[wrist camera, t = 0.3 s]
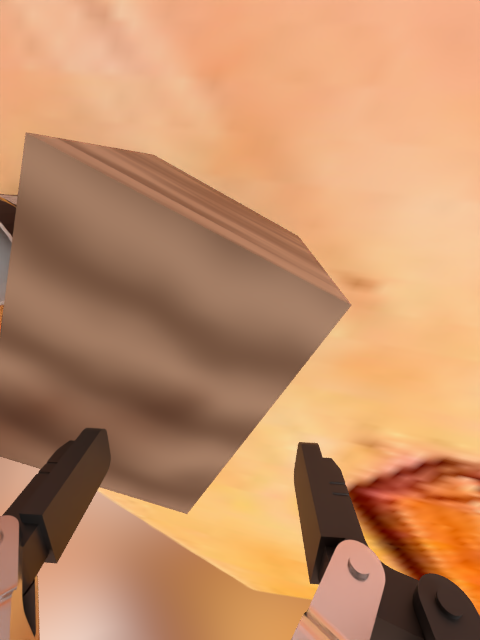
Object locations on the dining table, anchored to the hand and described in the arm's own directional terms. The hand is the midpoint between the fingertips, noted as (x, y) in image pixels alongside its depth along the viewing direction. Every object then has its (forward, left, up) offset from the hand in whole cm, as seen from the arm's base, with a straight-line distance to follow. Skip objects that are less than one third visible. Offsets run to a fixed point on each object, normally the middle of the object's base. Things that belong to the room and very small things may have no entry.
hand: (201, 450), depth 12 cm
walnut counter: (+4, -4, -22) cm, 23 cm away
